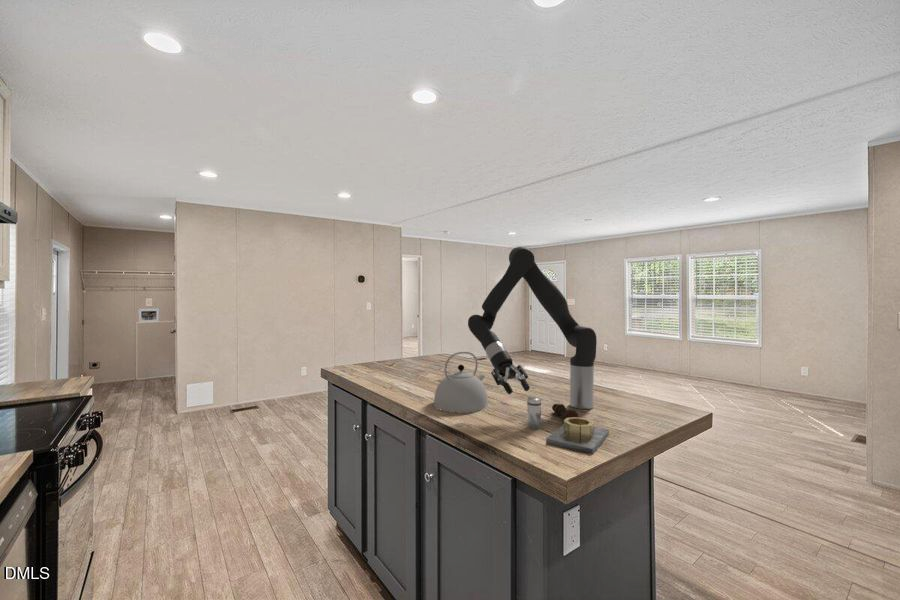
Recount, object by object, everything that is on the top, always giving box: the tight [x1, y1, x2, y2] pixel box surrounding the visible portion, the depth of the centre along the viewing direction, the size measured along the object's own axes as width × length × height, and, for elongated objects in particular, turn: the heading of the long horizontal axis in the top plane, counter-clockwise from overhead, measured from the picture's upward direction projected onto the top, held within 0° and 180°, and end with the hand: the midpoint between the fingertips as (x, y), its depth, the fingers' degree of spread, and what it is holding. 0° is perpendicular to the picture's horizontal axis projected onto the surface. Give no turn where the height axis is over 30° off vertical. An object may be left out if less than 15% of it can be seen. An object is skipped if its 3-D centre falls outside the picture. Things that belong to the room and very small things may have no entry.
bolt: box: [551, 403, 580, 421], centre depth 145 cm, size 6×5×15 cm
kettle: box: [433, 351, 489, 414], centre depth 163 cm, size 25×23×23 cm
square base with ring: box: [545, 416, 610, 455], centre depth 124 cm, size 20×14×6 cm
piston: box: [526, 396, 542, 430], centre depth 135 cm, size 5×5×10 cm
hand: (519, 391), depth 140 cm, fingers open, 8 cm apart
